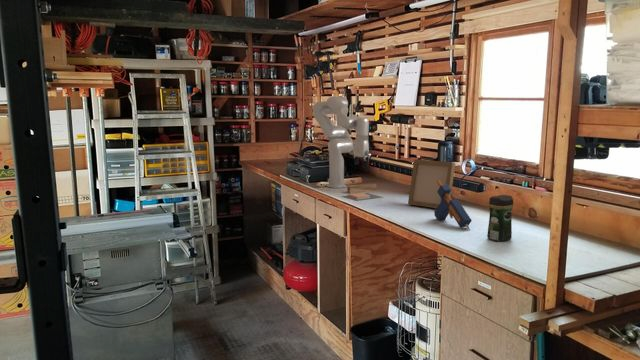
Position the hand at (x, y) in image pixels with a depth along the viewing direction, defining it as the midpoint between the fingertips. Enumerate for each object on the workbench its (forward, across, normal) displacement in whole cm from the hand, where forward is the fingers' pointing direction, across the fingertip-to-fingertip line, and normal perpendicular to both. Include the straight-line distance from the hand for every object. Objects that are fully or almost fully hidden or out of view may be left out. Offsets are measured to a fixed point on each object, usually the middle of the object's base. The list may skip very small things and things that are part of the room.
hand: (360, 165), depth 303 cm
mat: (+16, +14, -9) cm, 23 cm away
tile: (+15, +14, -7) cm, 22 cm away
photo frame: (+15, +52, +10) cm, 55 cm away
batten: (+17, +1, +1) cm, 17 cm away
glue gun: (+14, +85, -9) cm, 87 cm away
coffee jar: (+13, +113, -12) cm, 115 cm away
